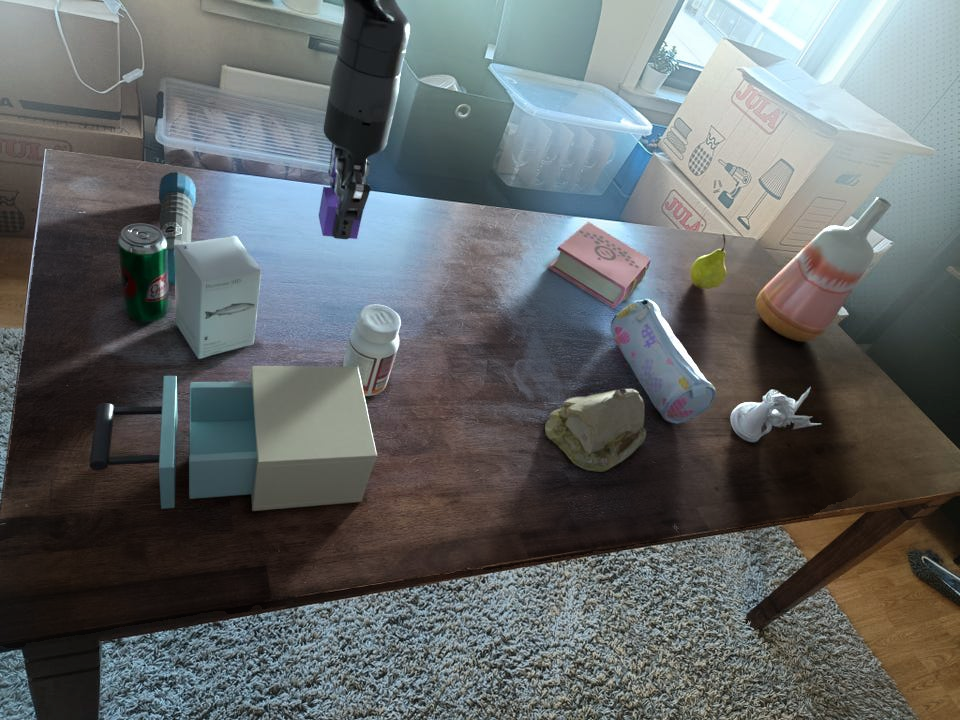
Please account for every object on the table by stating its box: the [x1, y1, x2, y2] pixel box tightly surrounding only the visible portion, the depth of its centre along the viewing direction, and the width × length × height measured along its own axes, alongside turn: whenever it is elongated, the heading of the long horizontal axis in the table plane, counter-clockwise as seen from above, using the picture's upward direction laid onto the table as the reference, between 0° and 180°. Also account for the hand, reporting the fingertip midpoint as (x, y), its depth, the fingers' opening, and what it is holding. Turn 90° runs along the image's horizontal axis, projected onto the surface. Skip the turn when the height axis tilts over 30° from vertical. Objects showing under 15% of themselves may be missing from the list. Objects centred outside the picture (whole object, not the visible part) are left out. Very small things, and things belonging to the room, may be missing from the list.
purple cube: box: [318, 186, 364, 240], centre depth 82 cm, size 4×4×4 cm
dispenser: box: [249, 365, 378, 512], centre depth 69 cm, size 12×13×9 cm
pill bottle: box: [342, 303, 402, 397], centre depth 80 cm, size 6×6×11 cm
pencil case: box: [609, 298, 717, 425], centre depth 100 cm, size 21×9×10 cm, turn 16°
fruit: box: [689, 233, 727, 290], centre depth 127 cm, size 7×7×12 cm
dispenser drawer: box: [89, 375, 257, 510], centre depth 64 cm, size 16×11×7 cm
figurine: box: [729, 386, 821, 443], centre depth 96 cm, size 11×8×12 cm
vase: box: [755, 196, 892, 343], centre depth 120 cm, size 14×14×30 cm
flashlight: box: [158, 171, 197, 286], centre depth 89 cm, size 5×22×5 cm, turn 17°
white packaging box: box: [174, 235, 262, 360], centre depth 77 cm, size 7×7×13 cm
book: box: [547, 221, 652, 310], centre depth 119 cm, size 14×15×5 cm
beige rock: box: [544, 387, 647, 473], centre depth 86 cm, size 14×11×10 cm
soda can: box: [117, 222, 170, 323], centre depth 76 cm, size 5×5×12 cm
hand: (337, 225), depth 83 cm, fingers closed on purple cube, 4 cm apart
